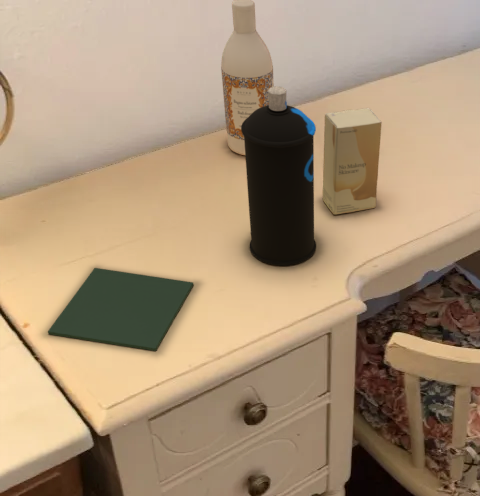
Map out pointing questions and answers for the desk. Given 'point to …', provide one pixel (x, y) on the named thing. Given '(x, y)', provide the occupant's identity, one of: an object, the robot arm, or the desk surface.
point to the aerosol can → (280, 181)
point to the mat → (122, 309)
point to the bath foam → (244, 73)
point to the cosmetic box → (351, 160)
